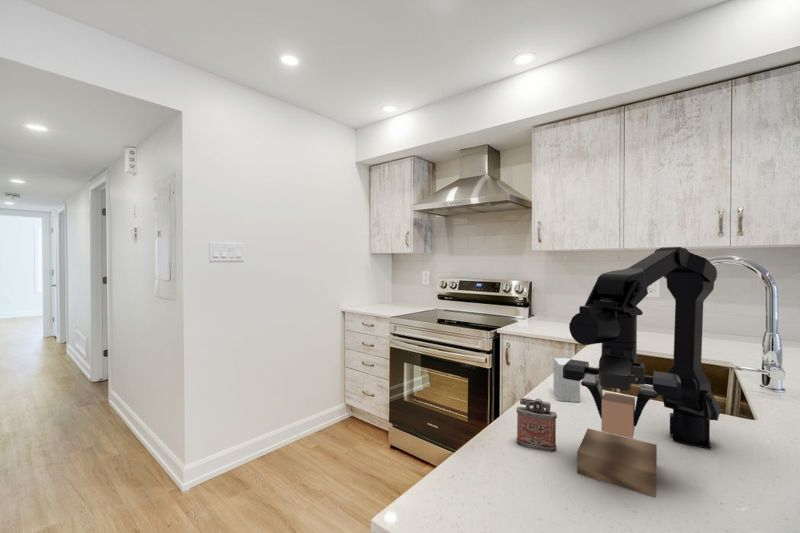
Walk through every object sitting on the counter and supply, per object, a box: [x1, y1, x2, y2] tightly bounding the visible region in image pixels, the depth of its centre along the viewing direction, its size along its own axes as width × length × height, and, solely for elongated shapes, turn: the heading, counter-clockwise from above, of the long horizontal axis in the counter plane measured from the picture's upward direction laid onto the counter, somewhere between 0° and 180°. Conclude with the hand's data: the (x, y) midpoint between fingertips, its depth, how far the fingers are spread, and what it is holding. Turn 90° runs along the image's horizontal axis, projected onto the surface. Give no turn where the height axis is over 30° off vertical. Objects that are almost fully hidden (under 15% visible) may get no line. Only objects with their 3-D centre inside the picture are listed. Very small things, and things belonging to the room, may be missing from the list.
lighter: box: [515, 396, 558, 453], centre depth 79 cm, size 8×3×10 cm, turn 65°
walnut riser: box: [576, 428, 658, 498], centre depth 70 cm, size 12×12×4 cm
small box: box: [552, 357, 581, 403], centre depth 107 cm, size 8×6×10 cm
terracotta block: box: [601, 391, 636, 439], centre depth 70 cm, size 5×5×6 cm
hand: (618, 421), depth 70 cm, fingers closed on terracotta block, 5 cm apart
